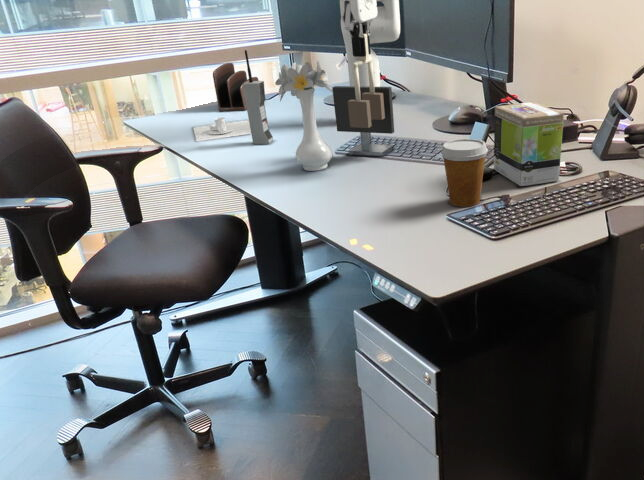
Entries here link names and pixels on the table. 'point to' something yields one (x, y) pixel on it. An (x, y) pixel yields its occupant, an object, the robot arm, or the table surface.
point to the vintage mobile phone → (256, 109)
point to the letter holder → (230, 87)
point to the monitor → (378, 126)
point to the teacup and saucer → (222, 129)
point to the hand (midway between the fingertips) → (361, 54)
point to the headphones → (365, 97)
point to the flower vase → (307, 112)
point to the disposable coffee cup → (464, 170)
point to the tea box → (528, 143)
